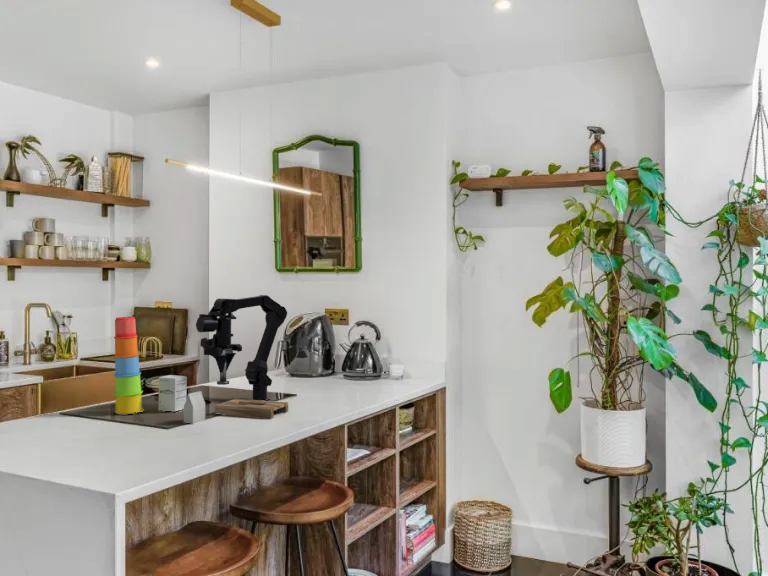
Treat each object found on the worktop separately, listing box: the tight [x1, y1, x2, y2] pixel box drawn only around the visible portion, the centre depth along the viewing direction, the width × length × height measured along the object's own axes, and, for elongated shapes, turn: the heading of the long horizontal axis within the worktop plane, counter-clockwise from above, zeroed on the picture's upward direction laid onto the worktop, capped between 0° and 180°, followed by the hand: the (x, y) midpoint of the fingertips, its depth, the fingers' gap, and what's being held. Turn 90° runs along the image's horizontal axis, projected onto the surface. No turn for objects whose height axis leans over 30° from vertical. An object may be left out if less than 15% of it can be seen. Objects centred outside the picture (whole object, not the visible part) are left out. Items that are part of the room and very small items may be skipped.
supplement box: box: [158, 374, 188, 412], centre depth 252 cm, size 7×7×13 cm
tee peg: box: [216, 363, 230, 386], centre depth 262 cm, size 5×5×10 cm
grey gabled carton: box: [183, 390, 206, 425], centre depth 232 cm, size 4×7×10 cm, turn 159°
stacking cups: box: [113, 316, 145, 413], centre depth 247 cm, size 10×10×35 cm
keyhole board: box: [214, 398, 289, 420], centre depth 248 cm, size 14×22×4 cm, turn 73°
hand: (223, 371), depth 262 cm, fingers closed on tee peg, 2 cm apart
